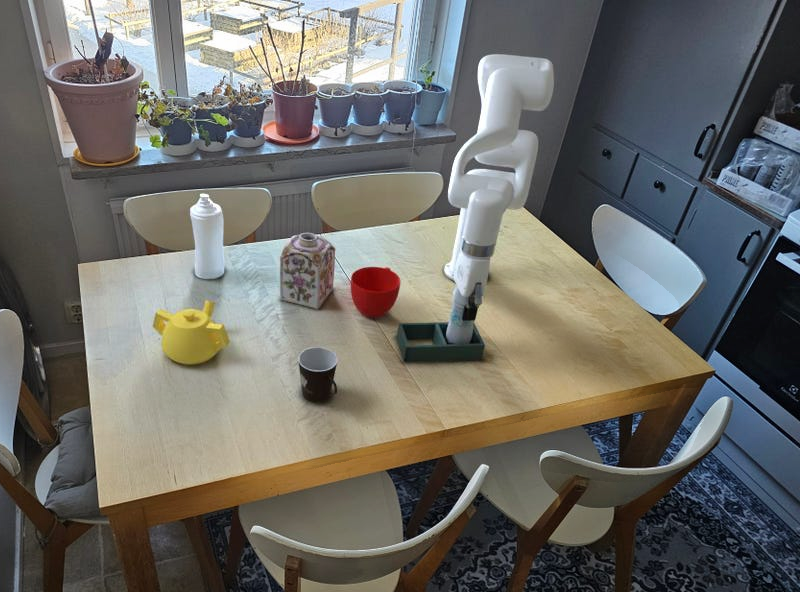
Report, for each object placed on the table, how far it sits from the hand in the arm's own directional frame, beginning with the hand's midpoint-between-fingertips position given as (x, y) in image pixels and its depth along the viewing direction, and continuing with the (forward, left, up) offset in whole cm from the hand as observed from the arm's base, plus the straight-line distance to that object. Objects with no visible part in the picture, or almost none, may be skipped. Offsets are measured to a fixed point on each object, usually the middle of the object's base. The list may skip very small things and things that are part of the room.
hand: (464, 310), depth 153 cm
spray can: (-37, -63, -11) cm, 74 cm away
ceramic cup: (-18, -18, -11) cm, 28 cm away
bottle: (0, 0, -10) cm, 10 cm away
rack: (+1, -5, -11) cm, 12 cm away
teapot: (-3, -65, -11) cm, 66 cm away
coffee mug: (+18, -37, -11) cm, 42 cm away
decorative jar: (-25, -36, -11) cm, 45 cm away
